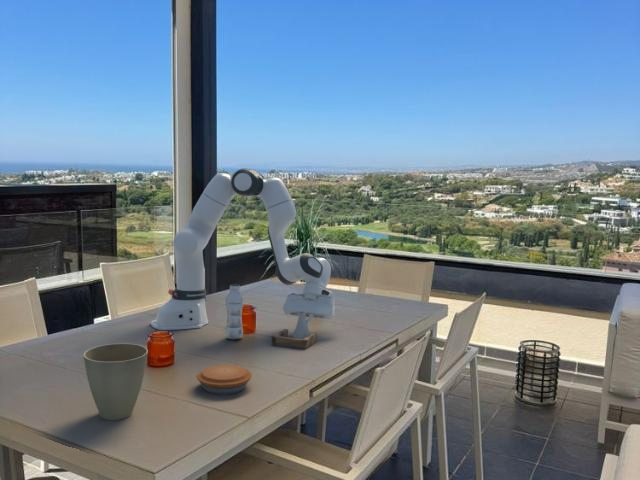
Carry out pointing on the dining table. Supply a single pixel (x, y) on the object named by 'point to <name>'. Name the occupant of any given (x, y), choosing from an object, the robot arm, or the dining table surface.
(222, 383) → the pie
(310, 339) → the walnut bay
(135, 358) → the plant pot
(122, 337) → the dining table surface
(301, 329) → the flask
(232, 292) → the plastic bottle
